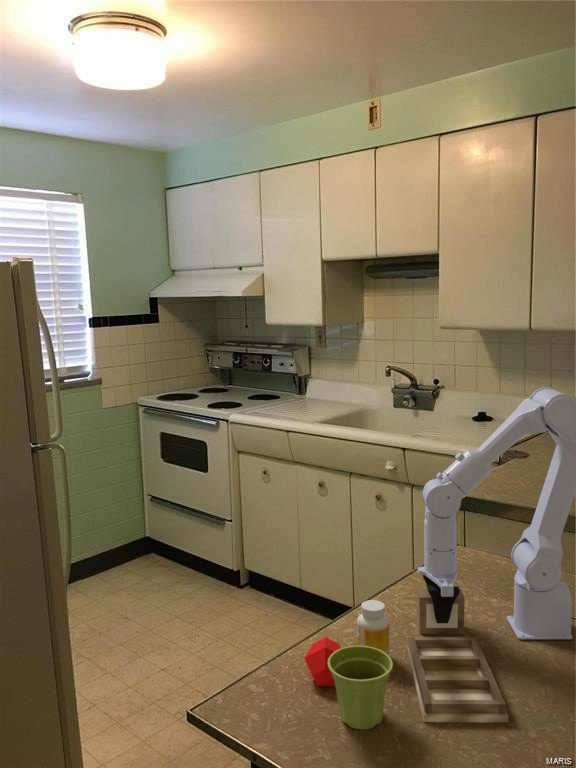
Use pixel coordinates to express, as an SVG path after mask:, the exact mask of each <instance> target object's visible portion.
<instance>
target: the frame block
mask: <svg viewBox="0 0 576 768" xmlns="http://www.w3.org/2000/svg"><path fill="white" fill-rule="evenodd" d="M459 589H460V592H459V595H458V596H457V598H456V600H455V602H454V604H453V607H452V611H451V615H450V619H449V622H448V623H437V622H436V619H435V614H434V608H433V602H432V598H431V596H430V594H429V592H428V590H427V588H417V589H416V626H417V630H418V633H419V635H465V595H464V594H463V592H462V589H461V588H459Z"/></svg>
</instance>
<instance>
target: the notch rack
mask: <svg viewBox="0 0 576 768" xmlns="http://www.w3.org/2000/svg"><path fill="white" fill-rule="evenodd" d="M407 639H408V641H407V643H406V653H407V656H408V661H409V664H410V668H411V673H412V678H413V683H414V685H415V690H416V694H417V698H418V704H419V708H420V711H421V716H422V720H423V722H424V723H494V724H497V723H498V724H499V723H500V724H501V723H506V724H507V723H509V715H508V712H507V710H506V709H507V704H506V701H505V700H504V697H503V694H502V693H501V690H500V688H499V686H498V683H497V681H496V679H495V677H494V674H493V672H492V670H491V668H490V666H489V664H488V662H487V659H486V657H485V654H484V652H483V650H482V647H481V646H480V644H479V642H478V638H477V637H476V636H469V637H468V636H409V637H408V638H407Z"/></svg>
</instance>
